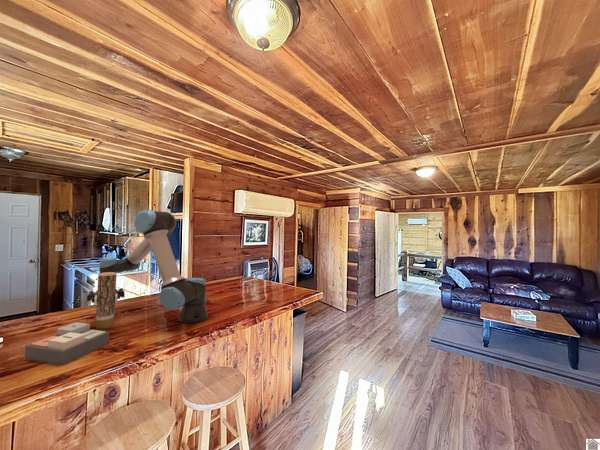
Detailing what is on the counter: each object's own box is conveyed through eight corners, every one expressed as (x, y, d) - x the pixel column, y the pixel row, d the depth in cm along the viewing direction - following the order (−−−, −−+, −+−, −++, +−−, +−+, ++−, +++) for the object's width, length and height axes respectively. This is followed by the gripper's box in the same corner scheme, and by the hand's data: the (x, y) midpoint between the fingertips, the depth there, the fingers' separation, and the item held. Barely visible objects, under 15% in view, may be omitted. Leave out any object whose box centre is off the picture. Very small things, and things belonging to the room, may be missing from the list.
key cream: (85, 341, 98) (85, 334, 98) (63, 350, 91) (64, 342, 91) (70, 339, 100) (70, 332, 100) (48, 348, 92) (48, 340, 92)
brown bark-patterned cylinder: (103, 330, 111) (106, 275, 111) (91, 328, 112) (94, 274, 113) (117, 324, 118) (120, 272, 118) (105, 322, 119) (108, 271, 119)
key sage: (105, 338, 107) (105, 331, 107) (87, 346, 99) (88, 338, 99) (91, 336, 108) (91, 329, 108) (72, 344, 101) (73, 336, 101)
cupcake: (201, 305, 164) (201, 287, 164) (193, 302, 168) (194, 285, 168) (211, 302, 171) (212, 285, 171) (204, 299, 175) (204, 283, 176)
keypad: (108, 343, 107) (109, 331, 108) (62, 365, 90) (63, 351, 90) (75, 338, 111) (76, 327, 111) (24, 358, 93) (25, 345, 93)
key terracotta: (67, 345, 100) (67, 337, 100) (45, 354, 92) (45, 346, 92) (52, 342, 101) (53, 335, 101) (29, 351, 94) (30, 343, 94)
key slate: (89, 330, 108) (89, 323, 108) (70, 338, 101) (71, 330, 101) (75, 328, 110) (76, 322, 110) (56, 335, 102) (56, 328, 102)
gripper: (129, 294, 135) (131, 305, 117) (81, 299, 123) (76, 312, 105) (129, 280, 135) (132, 289, 117) (82, 284, 123) (77, 295, 105)
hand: (106, 300), depth 111 cm, fingers closed on brown bark-patterned cylinder, 7 cm apart
